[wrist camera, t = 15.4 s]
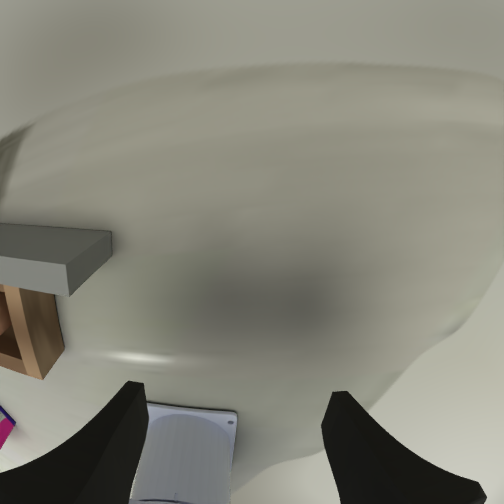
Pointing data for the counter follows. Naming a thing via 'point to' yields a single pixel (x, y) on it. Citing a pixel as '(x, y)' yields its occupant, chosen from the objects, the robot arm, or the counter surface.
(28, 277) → the wall
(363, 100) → the counter surface
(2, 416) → the supplement box
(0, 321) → the dowel
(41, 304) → the socket block
